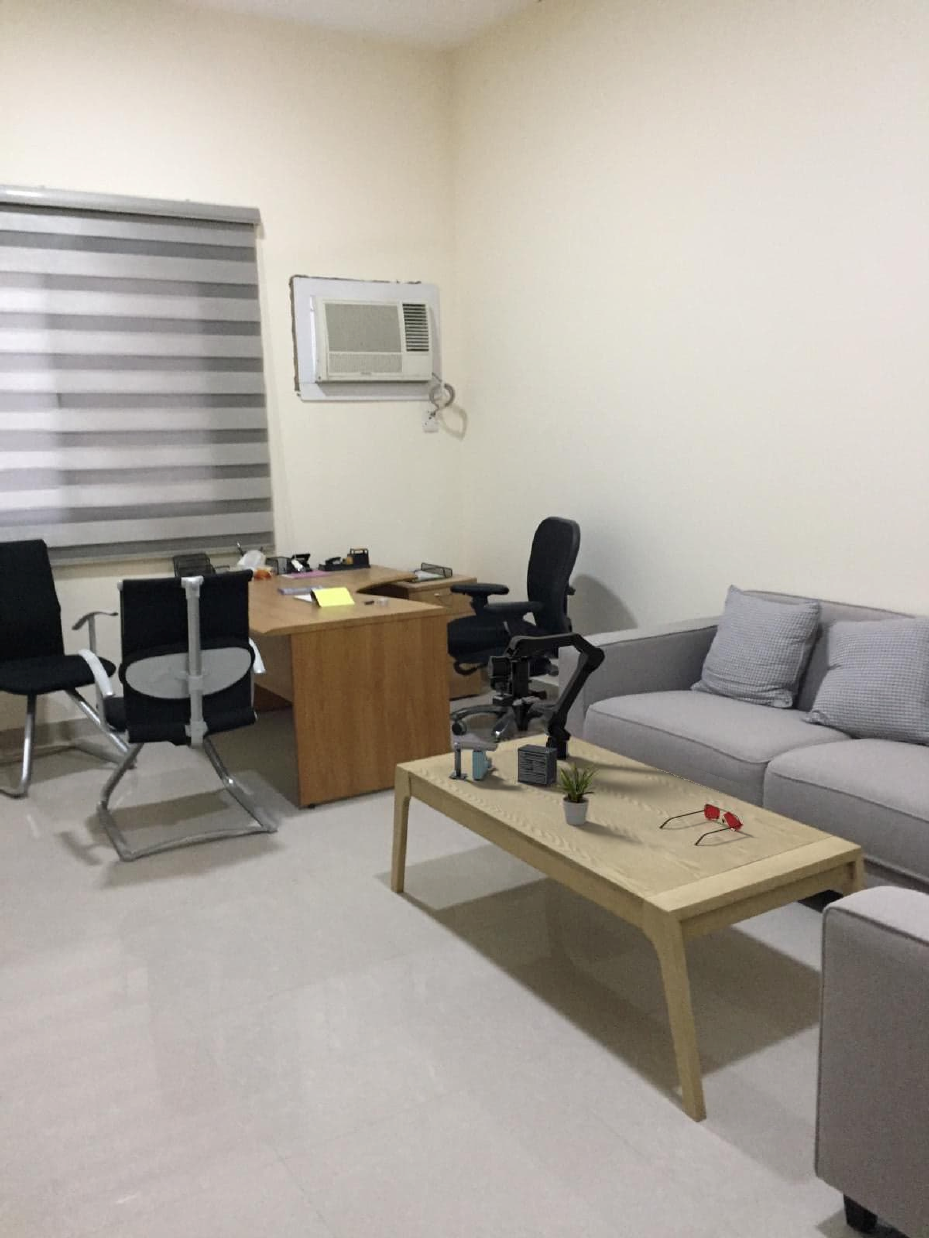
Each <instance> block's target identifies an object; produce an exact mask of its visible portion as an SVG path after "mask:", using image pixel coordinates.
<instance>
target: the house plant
mask: <svg viewBox="0 0 929 1238" xmlns="http://www.w3.org/2000/svg"><path fill="white" fill-rule="evenodd" d="M596 764H597V762H595V763H591V764H589V765H588V766H587V767H586V768H585V769H584V771H583V772H582V774H581V778H580V775H579V768H578V767H577V765H576V764H575V762H574V761H571V764H568V766H569V767H570V768H571V770H572V773H573V776H574V779H573V777H571V778H570V776H569V775H568V773H567V772H566V771H565V770H564V769H563V768H562V767H561V766H559V765H558V764H557V765H556V766H557V769H559V770H560V775H559V774H558V773H557V776H559V777H560V779H561V782H560V784H562V785H564V786H562V785H560V784H559V785H558V784H557V785H556V784H555V786H556V787H558V788H560V789H561V790H563V791H565V792H567V794H566V793H565V792H563V791H561V790H558V791H557V792H555V793H558V794H559V793H560V794H564V795H565V796H563V797H562V806H563V811H564V812H563V813H564V819H565V823H566V824H567V825H568V824H569V825H571V826H572V825H573V826H582V825H584V824H585V823H586V820H587V815H588V808H589V803H590V799H589V797H587V796H585V795H587V794H588V795H589V794H590V795H591V794H592V795H595V796H597V794H596V793H595V792H593V790H595V791H598V789H597V788H596V787H590V788H588V786H589V785H590V783H591V782H592V781H594V780H595V779H594V778H593V777H594V776H595V775H597V774H599V773H600V774H601V773H604V771H598V769H597V770H593V771H592V772H591V773H589V771H591V768H592V767H593V766H594V765H596ZM588 773H589V774H588ZM554 774H555V773H554ZM591 778H593V779H591ZM590 790H592V791H590Z"/></svg>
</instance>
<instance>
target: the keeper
mask: <svg viewBox="0 0 929 1238" xmlns="http://www.w3.org/2000/svg"><path fill="white" fill-rule="evenodd" d="M453 746H454V772H452V773H451V774H450V775H449V776H448V779H449V778H456V779H455V780H461V779H463V780H464V779H465V778H466V777H467V776H468V773H466V772H462V750H470V751H473V750H481V751H486V752H495V751H496V750H498V748H499V743H491V742H489V743H488V742H477V741H476V742H475V741H463V740H459V741H458V742H454V745H453ZM466 775H467V776H466ZM464 777H465V778H464Z"/></svg>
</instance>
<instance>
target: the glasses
mask: <svg viewBox="0 0 929 1238" xmlns="http://www.w3.org/2000/svg"><path fill="white" fill-rule="evenodd" d="M721 811H723V812H725V813H724V814H723V815H722V816H723V818H721V822H722V823H723V824H725V823H727V825H728V827H725V828H721V829H718V830H714V831H711V832H710V831H709V832H706V833H704V834H703V835H701V836H700V837H699V839H698V840H697V841H696V842H695V844H694V846H695V845H696V846H698V844H699V843H700V842H701V841H702V840H703V838H704V837H706V836H707V835H711V834H714V833H719V832H722V831H727V830H731V828H733V829H735V830H736V831H739V830H741V828H742V827H743V826H744V824H743V823H742V822H741V821H740V818H739V817H738V816H737V815H736V814H734V813H732V812H731V811H726V810H724V809H722V808H719V807H718V806H715V805H712V804H709V803H705V804H704V806H703V809H701V810H698V811H693V812H689V813H685V814H681V815H678V816H672V817H670V818H668V819H667V820H666V821H664V823H662V824H661V826H659V827H658V829H659V828H661V829H662V828H664V827H665V825H667V823H668V822H670V821H671V820H673V819H678V818H682V817H686V816H691V815H695V814H699V813H703V814H704V817H705V819H706V818H708V819H707V820H716V821H718V820H719V819H720V816H721Z"/></svg>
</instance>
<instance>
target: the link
mask: <svg viewBox="0 0 929 1238" xmlns="http://www.w3.org/2000/svg"><path fill="white" fill-rule="evenodd" d="M471 752H472V755H471V757H472V760H471V761H472V764H471V765H472V772H471V773H472V779H473V780H482V779H483V778H484V776H485V774H486V772H487V771H486V770H487V769H488V768H490V767H492V765H493V758H492V757H490V756H488V755H487V751H481V750H472V751H471ZM486 755H487V759H486Z"/></svg>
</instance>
